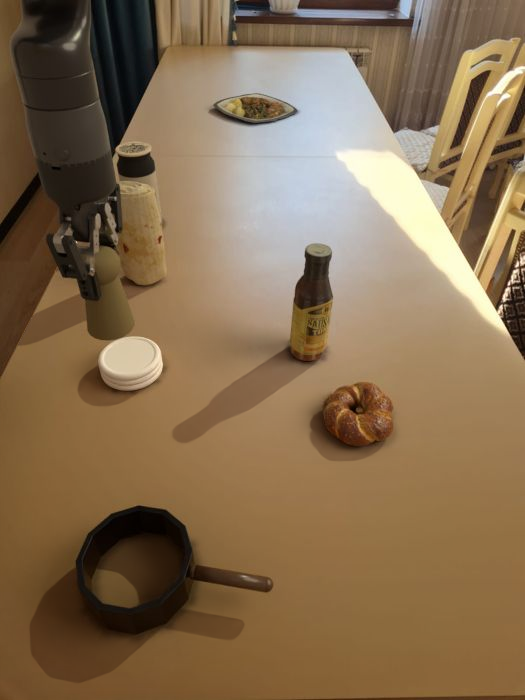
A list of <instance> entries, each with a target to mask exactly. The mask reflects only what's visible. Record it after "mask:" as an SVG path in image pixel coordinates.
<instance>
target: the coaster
mask: <svg viewBox="0 0 525 700" xmlns="http://www.w3.org/2000/svg"><path fill="white" fill-rule="evenodd" d="M97 364H98V368H99V373H100V376H101V378H102V379H101V380H103V381H104V383H105V384H106V385H107V386H108V387H110V388H112V389H114V390H118V391H126V392H127V391H129V392H130V391H136V390H141V389H144V388H146V387H148V386H150V385H151V384H153V383H154V382H155V381H157V379H158V378H159V377H160V376H161V374H162V372H163V368H164V363H163V356H162V351H161V349H160V346H158V344H157V343H156V342H155V341H153V340H151V339H149V338H147V337H143V336H124V337H122V338H119V339H116V340H112V341H111V342H110V343H108V344H107V345H106V346H105V347H104V348H103V349H102V350H101V351H100V353H99V355H98V358H97Z"/></svg>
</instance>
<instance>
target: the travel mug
mask: <svg viewBox="0 0 525 700" xmlns="http://www.w3.org/2000/svg"><path fill="white" fill-rule="evenodd" d="M151 151H152V146H151V144H149V143H147V142H144V141H138V140H137V141H126V142H123V143H120V144H118V145H117V146H116V147H115V149H114V152H115V154H116V155H117V157H118V159H117V162H116V169H117V174H118V175H117V176H118V180H119V181H134V182H138V183H142V184H148V185H150V186H152V187H153V188H154V190H155V193H156V202H157V206H158V210H159V214H160V219H161V225H162V226H163V216H162V210H161V202H160V201H161V200H160V194H159V187H158V186H159V185H158V179H157V171H156V163H155V160H154V159H153V157H152V156H151ZM119 181H118V182H119Z"/></svg>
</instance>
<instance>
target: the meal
mask: <svg viewBox="0 0 525 700" xmlns="http://www.w3.org/2000/svg"><path fill="white" fill-rule="evenodd" d="M212 106H213V107H214V108H215V109H218V110H219V111H220V112H221V113H222V114H224V115H227V116H230V117H233V118H236V119H239V120H242V121H245V122H248V123H254V124H255V123H257V124H258V123H267V122H277V121H279V120H281V119H286V118H288V117H290V116H293V115H294V114H296V113H297V112H299V111H298V109H297V108H296V107H295V106H293V105H291V104H290V103H288V102H286V101H284V100H282V99H280V98H276V97H273V96H270V95H266V94H264V93H259V92H254V93H247V94H241V95H236V96H231V97H230V96H229V97H226V98H223V99H220V100H217V101H216V102H214V103H213V105H212Z"/></svg>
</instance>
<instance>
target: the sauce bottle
mask: <svg viewBox="0 0 525 700" xmlns="http://www.w3.org/2000/svg"><path fill="white" fill-rule="evenodd" d="M332 258H333V250H332V247H330V246H329V245H327V244H324V243H318V242H313V243H310V244H308V245H307V246H306V247H305V249H304V259H305V261H304V268H303V274H302V275H301V276H300V278H299V279H298V280H297V282H296V284H295V288H294V296H293V302H292V312H291V313H292V314H291V324H290V334H289V335H290V336H289V344H290V345H289V351H290V353H291V354H292V356H293V357H294V358H296V359H298V360H300V361H305V362H312V361H317V360H319V359H321V358H322V356H323V355H324V353H325V352H326V348H327V344H328V337H329V332H330V331H329V330H330V323H331V316H332V310H333V309H332V308H333V303H334V302H333V301H334V295H333V290H332V287H331V282H330V276H329V275H330V271H329V270H330V262H331V260H332Z"/></svg>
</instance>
